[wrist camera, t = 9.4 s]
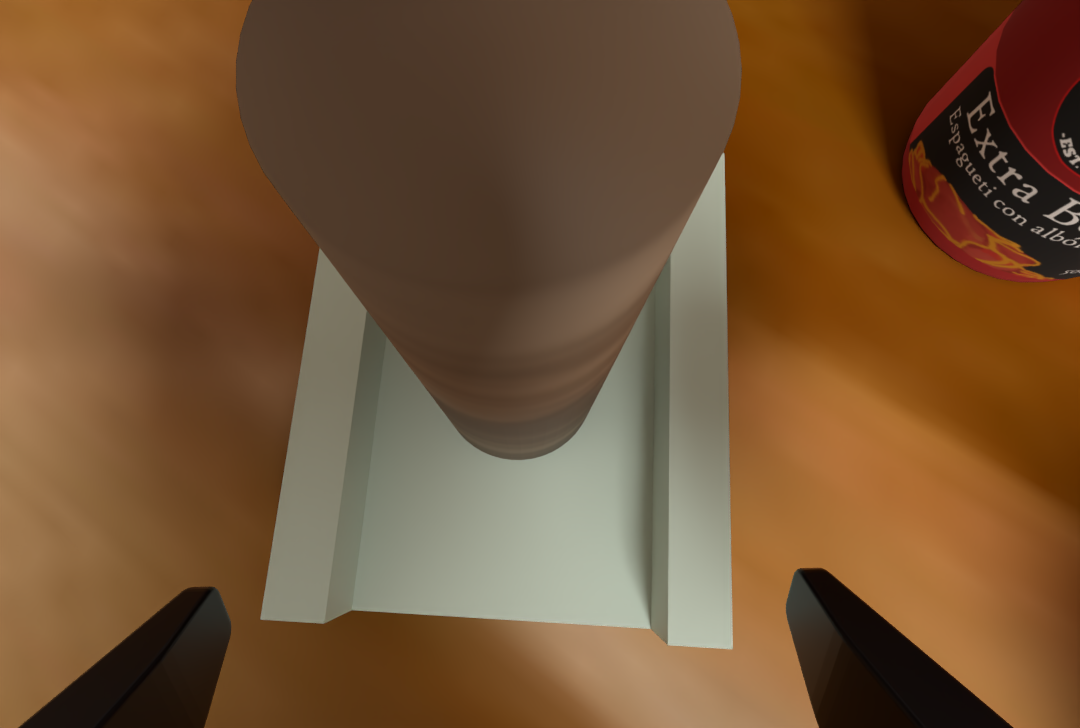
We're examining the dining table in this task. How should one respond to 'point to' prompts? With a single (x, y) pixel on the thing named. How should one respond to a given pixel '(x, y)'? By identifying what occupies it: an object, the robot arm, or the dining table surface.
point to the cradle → (518, 477)
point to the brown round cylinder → (494, 178)
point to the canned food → (1006, 151)
